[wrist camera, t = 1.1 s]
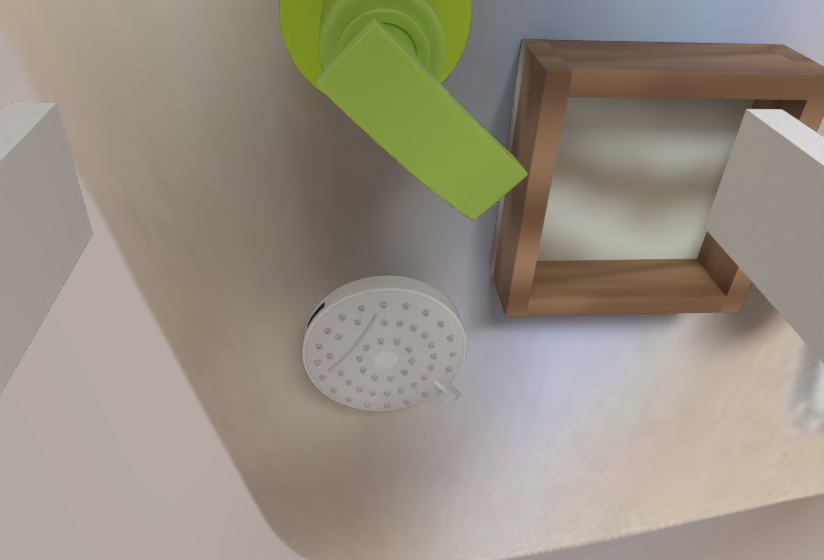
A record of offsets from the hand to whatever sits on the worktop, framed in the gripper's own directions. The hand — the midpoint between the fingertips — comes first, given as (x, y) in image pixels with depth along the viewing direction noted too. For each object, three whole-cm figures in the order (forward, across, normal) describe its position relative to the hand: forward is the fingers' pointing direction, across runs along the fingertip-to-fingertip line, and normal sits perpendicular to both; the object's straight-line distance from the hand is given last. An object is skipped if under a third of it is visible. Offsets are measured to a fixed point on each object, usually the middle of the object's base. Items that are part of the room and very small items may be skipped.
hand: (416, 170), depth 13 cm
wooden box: (+22, +15, -11) cm, 29 cm away
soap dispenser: (+22, 0, 0) cm, 23 cm away
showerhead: (+23, +1, -20) cm, 30 cm away
